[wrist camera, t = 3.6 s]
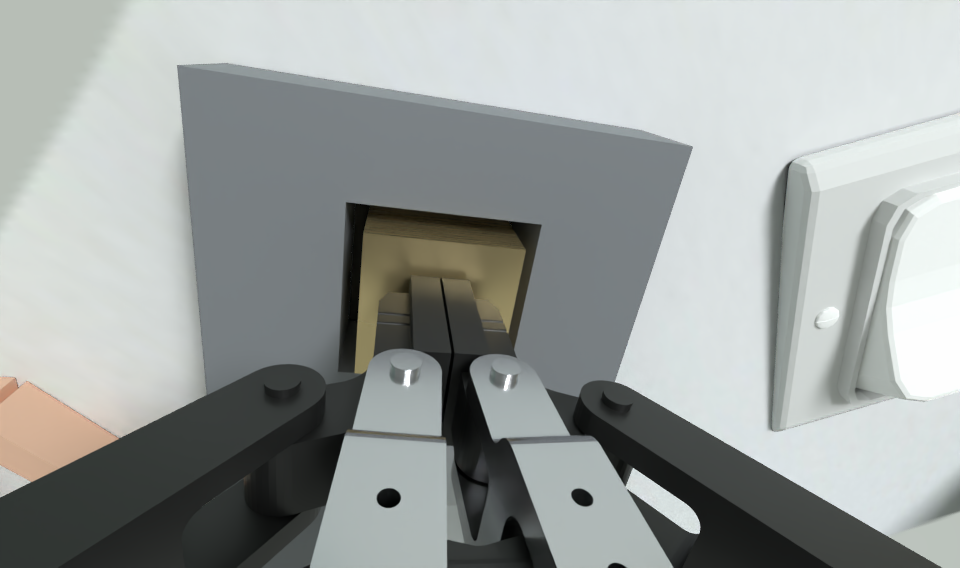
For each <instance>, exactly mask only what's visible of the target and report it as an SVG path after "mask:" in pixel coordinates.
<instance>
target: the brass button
mask: <svg viewBox="0 0 960 568" xmlns="http://www.w3.org/2000/svg"><path fill="white" fill-rule="evenodd" d="M525 253H526V249H525V248H524V246H523V245H522V243H521V241H520V240H519V238H518V236H517V235H516V233H515V232H514V230H513V228H512V227H511V225H510V223H509V222H508V221H506V220H497V219H488V218H480V217H471V216H462V215H454V214H445V213H436V212H428V211H419V210H410V209H402V208H393V207H384V206H375V205H370V208H369V212H368V216H367V220H366V224H365V228H364V233H363V246H362V262H361V278H360V293H359V309H358V325H357V341H356V357H355V372H354V373H357V374H363V373H364V372H365V371H366V370H367V369H368V365H369V362H370V361H371V360H372V358H373V355H374V346H375V336H376V326H377V316H378V306H379V300H380V299H382V298H383V297H384V296H385V295H386V294H387V293H388V292H397V293H408V292H409V283H410V277H411V275H418V276H430V277H439V278H440V279H441V277H442V278H453V279H465V280H469V281H470V284H471V287H472V291H473V294H474V298H475V299H485V300H489V301H490V302H491V303H492V304H493V305H494V306H495V307H496V308H498V309H499V311H500V313H501V316H502V319H503V323H504V324H505V327H506V330H507V332H508V333H509V328H510V323H511V319H512V314H513V309H514V305H515V300H516V295H517V290H518V286H519V281H520V276H521V272H522V267H523V262H524V258H525Z"/></svg>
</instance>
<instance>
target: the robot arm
mask: <svg viewBox="0 0 960 568" xmlns="http://www.w3.org/2000/svg"><path fill="white" fill-rule="evenodd" d="M446 446H453V448H454V458H453V464H452V469H451V480H452V485H453V490H454V495H455V499H456V504H457V509H458V514H459V519H460V524H461V529H462V534H463V539H464V543H460V542H456V541H451V540H447V478H446ZM633 468H635V469H636V470H638V471H639V472H640V473H642V474H643V475H645V476H646V477H648V478H649V479H651V480H652V481H654V482H655V483H657V484H658V485H660V486H661V487H662V488H664V489H665V490H667V491H668V492H670V493H671V494H673V495H674V496H676V497H677V498H679V499H680V500H682V501H683V502H684V503H686V504H687V505H688V506H690V507H691V508H692V509H693V511H694V512H695V513H696V515H697V517H698V519H699V522H700V527H701V528H700V533H699V534H692V533H689V532H687V531H685V530H684V529H682V528H681V527H679V526H678V525H676V524H675V523H674V522H672V521H671V520H669V519H668V518H667V517H665V516H664V515H663V514H661V513H660V512H658V511H657V510H656V509H654V508H653V507H651V506H650V505H649V504H647V503H646V502H644V501H643V500H642V499H640V498H639V497H637V496H636V495H635V494H633V493H632V492H630V491H629V490H628V489H626V484H627V481H628V479H629V476H630V474H631V471H632V469H633ZM241 479H242V480H241ZM238 481H239V482H238ZM237 482H238V483H237ZM235 483H236V484H235ZM234 484H235V485H234ZM232 485H233V486H232ZM231 486H232V487H231ZM228 488H229V489H228ZM225 490H226V491H225ZM222 492H223V493H222ZM221 493H222V494H221ZM219 494H220V495H219ZM218 495H219V496H218ZM216 496H217V497H216ZM215 497H216V498H215ZM212 499H213V500H212ZM209 501H210V502H209ZM208 502H209V503H208ZM206 503H207V504H206ZM205 504H206V505H205ZM325 505H326V508H325V512H324V516H323V519H322V523H321V527H320V531H319V535H318V538H317V542H316V546H315V550H314V553H313V557H312V561H311V564H310V565H308V566H305V567H303V568H941V567H940V566H938V565H936V564H934V563H933V562H931V561H929V560H927V559H926V558H924V557H922V556H920V555H919V554H917V553H915V552H914V551H912V550H910V549H908V548H906V547H905V546H903V545H901V544H900V543H898V542H896V541H894V540H893V539H891V538H889V537H888V536H886V535H884V534H882V533H881V532H879V531H877V530H875V529H874V528H872V527H870V526H868V525H867V524H865V523H863V522H862V521H860V520H858V519H856V518H855V517H853V516H851V515H849V514H848V513H846V512H844V511H842V510H841V509H839V508H837V507H836V506H834V505H832V504H830V503H829V502H827V501H825V500H823V499H822V498H820V497H818V496H816V495H815V494H813V493H811V492H809V491H808V490H806V489H804V488H803V487H801V486H799V485H797V484H796V483H794V482H792V481H790V480H789V479H787V478H785V477H783V476H782V475H780V474H778V473H777V472H775V471H773V470H771V469H770V468H768V467H766V466H764V465H763V464H761V463H759V462H757V461H756V460H754V459H752V458H750V457H749V456H747V455H745V454H744V453H742V452H740V451H738V450H737V449H735V448H733V447H731V446H730V445H728V444H726V443H724V442H723V441H721V440H719V439H718V438H716V437H714V436H712V435H711V434H709V433H707V432H705V431H704V430H702V429H700V428H698V427H697V426H695V425H693V424H691V423H690V422H688V421H686V420H685V419H683V418H681V417H679V416H678V415H676V414H674V413H672V412H671V411H669V410H667V409H665V408H664V407H662V406H660V405H659V404H657V403H655V402H653V401H652V400H650V399H648V398H646V397H645V396H643V395H641V394H639V393H638V392H636V391H634V390H632V389H631V388H629V387H627V386H624V385H622V384H619V383H616V382H611V381H605V380H597V381H591V382H588V383H586V384H585V385H584V386H583V387H582V388H581V391H580V394H579V397H575V396H571V395H568V394H564V393H560V392H556V391H553V390H550V389H547V388H545V387H544V386H543V384H542V382H541V380H540V378H539V376H538V374H537V373H536V371H535V370H534V369H533V368H532V367H531V366H530V365H529V364H527V363H526V362H524V361H522V360H520V359H518V358H517V356H516V354H515V351H514V348H513V346H512V343H511V340H510V338H509V335H508V332H507V330H506V327H505V324H504V323H503V319H502V316H501V313H500V311H499V309H498V308H496V307H495V306H494V305H493V304H492V303H491V302H490V301H489V300H485V299H475V298H474V294H473V291H472V287H471V284H470V281H469V280H465V279H453V278H442V277H441V279H440V278H439V277H430V276H418V275H411V277H410V283H409V292H408V293H397V292H388V293H387V294H386V295H385V296H384V297H383V298H382V299H380V300H379V306H378V316H377V326H376V336H375V346H374V355H373V358H372V360H371V361H370V362H369V365H368V369H367V370H366V371H365V372H364V373H363V374H361V375H359V376H358V377H355V378H353V379H350V380H347V381H343V382H338V383H332V384H326V382H325V380H324V378H323V376H322V375H321V374H320V373H318V372H317V371H315V370H314V369H311V368H309V367H306V366H302V365H296V364H280V365H273V366H268V367H265V368H262V369H259V370H257V371H255V372H253V373H251V374H249V375H247V376H245V377H243V378H241V379H239V380H237V381H235V382H233V383H231V384H229V385H226V386H224V387H222V388H220V389H218V390H216V391H214V392H212V393H210V394H208V395H206V396H204V397H202V398H200V399H198V400H196V401H194V402H192V403H190V404H188V405H186V406H184V407H182V408H180V409H178V410H176V411H174V412H172V413H170V414H168V415H166V416H164V417H162V418H160V419H158V420H156V421H154V422H152V423H150V424H148V425H146V426H144V427H142V428H140V429H138V430H136V431H134V432H132V433H130V434H128V435H126V436H124V437H122V438H120V439H118V440H116V441H114V442H112V443H110V444H108V445H106V446H104V447H102V448H100V449H98V450H96V451H93V452H91V453H89V454H87V455H85V456H83V457H81V458H79V459H77V460H75V461H73V462H71V463H69V464H67V465H65V466H63V467H61V468H59V469H57V470H55V471H53V472H51V473H49V474H47V475H45V476H43V477H41V478H39V479H37V480H35V481H33V482H31V483H29V484H27V485H25V486H23V487H21V488H19V489H17V490H15V491H13V492H11V493H9V494H7V495H5V496H3V497H1V498H0V568H262V567H263V566H264V565H265V564H266V563H268V562H269V561H270V560H271V559H272V558H273V557H274V556H275V555H277V554H278V553H279V552H280V551H281V550H282V549H283V548H284V547H286V546H287V545H288V544H289V543H290V542H291V541H292V540H293V539H294V538H296V537H297V536H298V535H299V534H300V533H301V532H302V531H303V530H305V529H306V528H307V527H308V526H309V525H310V524H311V523H312V522H313V521H314V520H315V519H316V517H317V516H318V514H319V512H320V510H321V507H322V506H325ZM202 506H203V507H202Z"/></svg>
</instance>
